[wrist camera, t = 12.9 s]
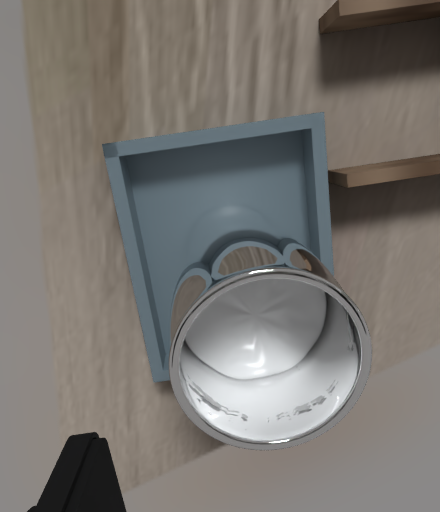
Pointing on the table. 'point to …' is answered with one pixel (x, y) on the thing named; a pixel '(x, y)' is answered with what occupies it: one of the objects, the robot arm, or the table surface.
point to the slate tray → (213, 201)
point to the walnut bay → (367, 15)
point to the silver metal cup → (262, 336)
